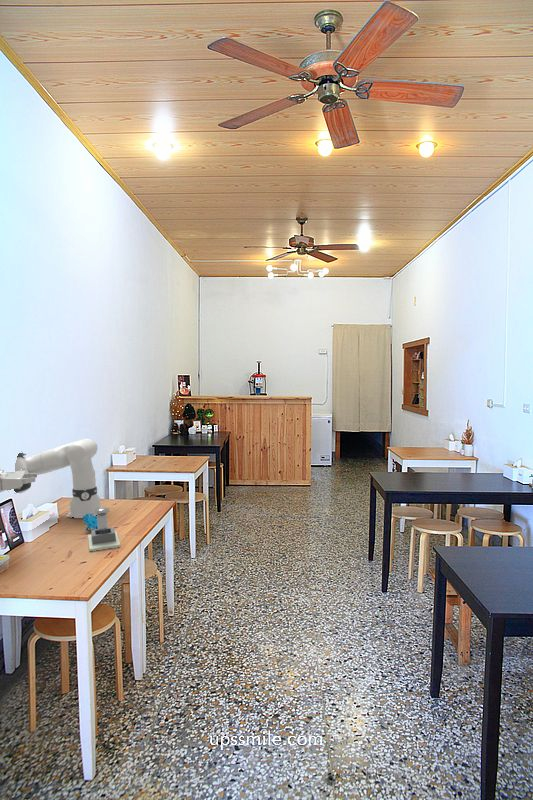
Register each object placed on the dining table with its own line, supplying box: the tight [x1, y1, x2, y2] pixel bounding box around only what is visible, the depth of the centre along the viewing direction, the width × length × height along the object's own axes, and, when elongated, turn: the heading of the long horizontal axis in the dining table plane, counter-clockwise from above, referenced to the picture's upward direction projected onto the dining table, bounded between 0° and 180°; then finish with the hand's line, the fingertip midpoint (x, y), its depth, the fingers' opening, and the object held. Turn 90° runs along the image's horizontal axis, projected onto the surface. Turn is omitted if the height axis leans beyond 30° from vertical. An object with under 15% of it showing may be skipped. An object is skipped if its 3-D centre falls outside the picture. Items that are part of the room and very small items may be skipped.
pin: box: [95, 506, 110, 534], centre depth 215 cm, size 6×6×13 cm
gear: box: [82, 513, 98, 531], centre depth 234 cm, size 11×6×10 cm
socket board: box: [87, 526, 121, 552], centre depth 215 cm, size 20×12×5 cm, turn 21°
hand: (36, 477), depth 209 cm, fingers open, 8 cm apart
